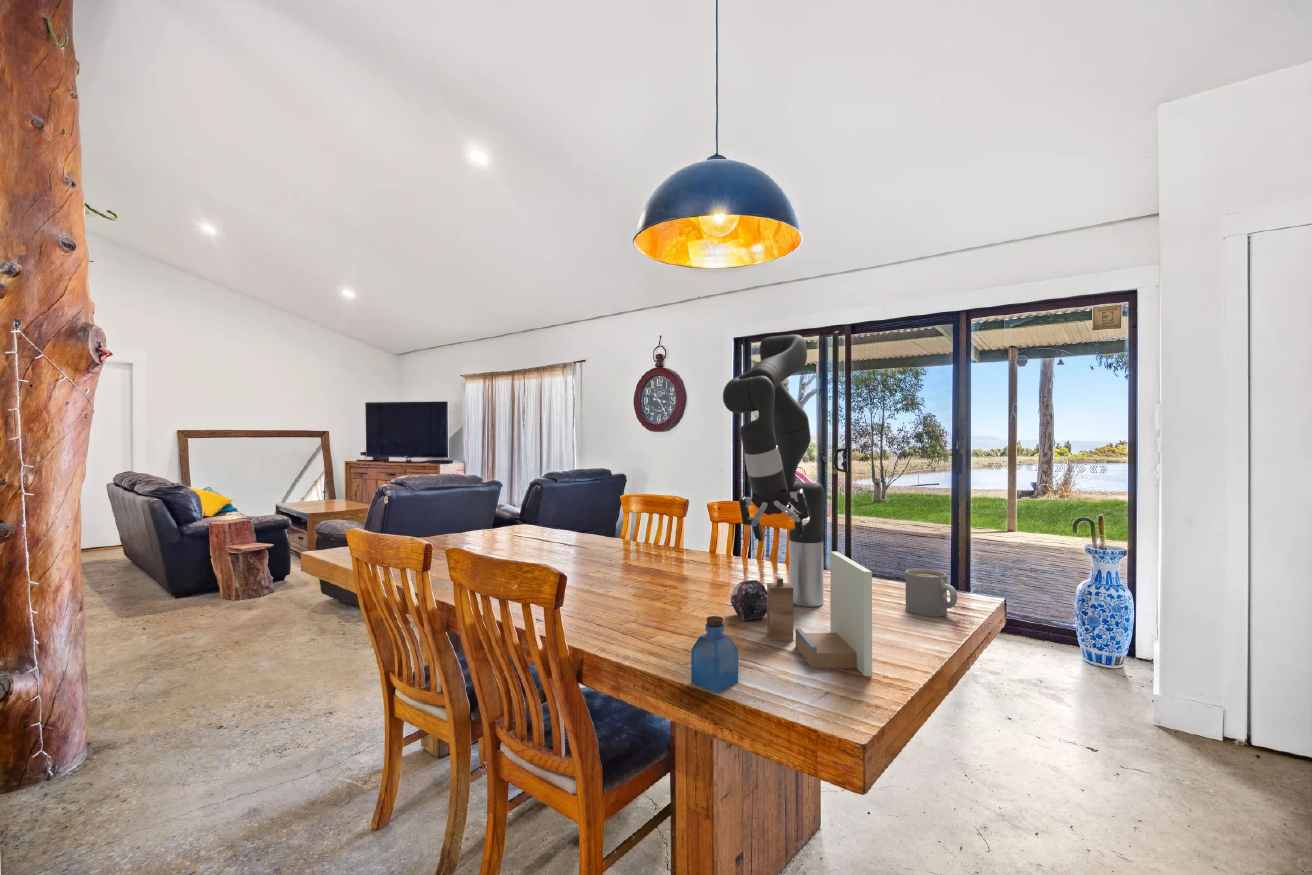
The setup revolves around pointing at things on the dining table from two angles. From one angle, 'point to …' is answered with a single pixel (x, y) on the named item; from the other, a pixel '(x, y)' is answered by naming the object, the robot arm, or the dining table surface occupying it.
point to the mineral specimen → (749, 600)
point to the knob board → (780, 611)
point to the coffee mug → (928, 592)
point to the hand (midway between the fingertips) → (780, 538)
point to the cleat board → (843, 621)
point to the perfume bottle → (714, 658)
